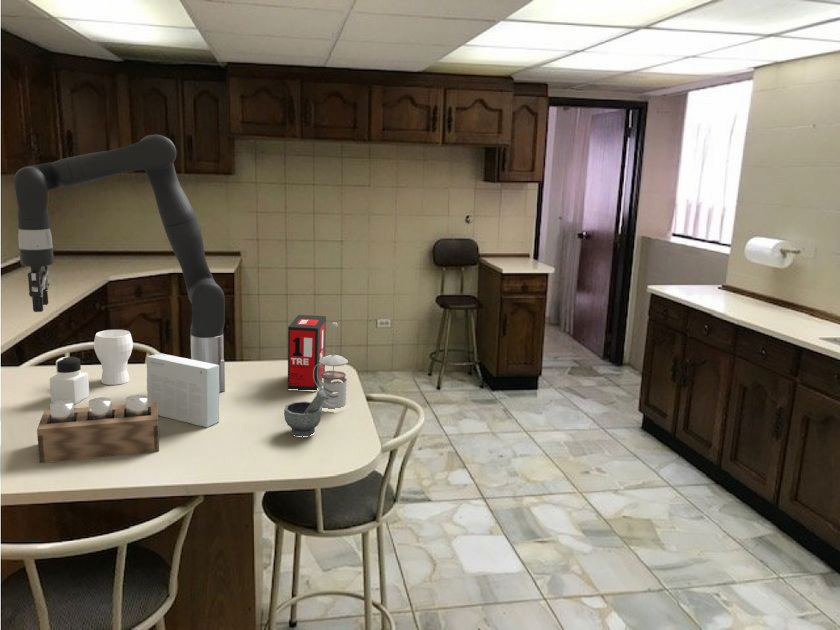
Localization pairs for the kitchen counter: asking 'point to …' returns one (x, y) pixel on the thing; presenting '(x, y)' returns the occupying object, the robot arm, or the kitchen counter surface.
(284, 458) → the kitchen counter surface
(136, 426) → the wooden spice jar rack
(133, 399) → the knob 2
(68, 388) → the medicine bottle
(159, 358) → the skincare box
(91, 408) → the spice jar
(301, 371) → the cleaning product box
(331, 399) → the french press
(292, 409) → the mortar and pestle
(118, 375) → the cup
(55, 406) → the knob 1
